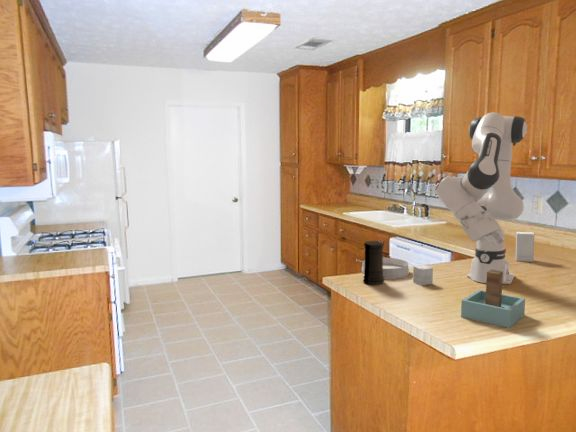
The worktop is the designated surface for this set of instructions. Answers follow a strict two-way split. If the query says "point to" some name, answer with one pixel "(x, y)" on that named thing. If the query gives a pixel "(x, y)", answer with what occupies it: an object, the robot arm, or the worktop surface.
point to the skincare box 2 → (525, 246)
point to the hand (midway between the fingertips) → (497, 245)
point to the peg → (494, 288)
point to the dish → (392, 268)
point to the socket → (493, 309)
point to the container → (373, 263)
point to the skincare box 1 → (423, 275)
